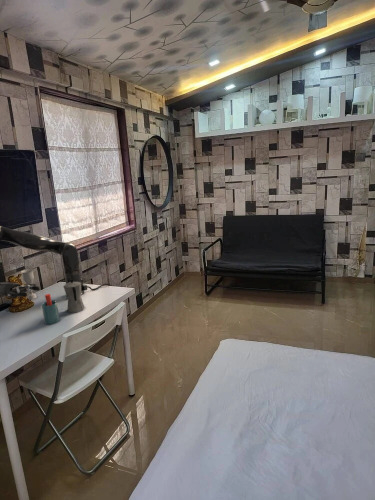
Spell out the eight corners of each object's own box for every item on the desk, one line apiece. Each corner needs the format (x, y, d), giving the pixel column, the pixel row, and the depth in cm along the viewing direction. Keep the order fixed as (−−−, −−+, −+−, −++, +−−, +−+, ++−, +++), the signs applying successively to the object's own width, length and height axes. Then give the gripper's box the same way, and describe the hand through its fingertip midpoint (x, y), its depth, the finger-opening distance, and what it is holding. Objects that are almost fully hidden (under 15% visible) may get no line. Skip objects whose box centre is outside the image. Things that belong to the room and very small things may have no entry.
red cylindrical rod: (52, 318, 174) (48, 293, 171) (55, 319, 173) (51, 294, 170) (48, 320, 172) (44, 295, 169) (51, 321, 171) (46, 295, 168)
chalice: (33, 300, 204) (28, 272, 200) (23, 299, 206) (18, 272, 202) (40, 295, 211) (35, 268, 207) (31, 295, 213) (26, 268, 208)
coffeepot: (66, 307, 190) (61, 277, 185) (83, 303, 193) (78, 274, 189) (69, 317, 176) (64, 285, 172) (87, 313, 180) (82, 282, 176)
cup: (54, 317, 178) (51, 299, 175) (62, 319, 174) (59, 302, 171) (42, 322, 172) (38, 304, 170) (50, 325, 168) (47, 307, 166)
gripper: (-4, 287, 171) (20, 289, 165) (18, 278, 184) (41, 280, 178) (-1, 301, 172) (23, 303, 167) (21, 291, 185) (44, 293, 180)
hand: (32, 291), depth 172 cm, fingers open, 8 cm apart
